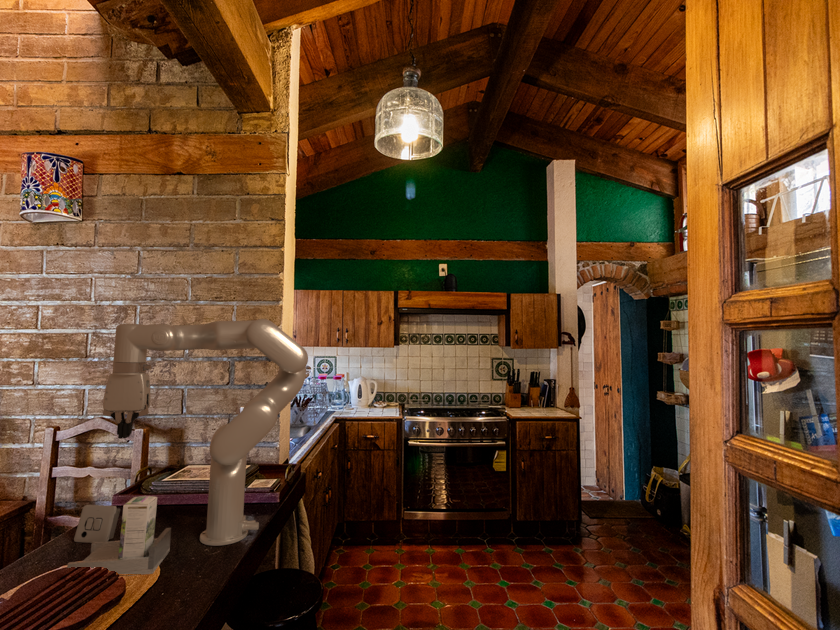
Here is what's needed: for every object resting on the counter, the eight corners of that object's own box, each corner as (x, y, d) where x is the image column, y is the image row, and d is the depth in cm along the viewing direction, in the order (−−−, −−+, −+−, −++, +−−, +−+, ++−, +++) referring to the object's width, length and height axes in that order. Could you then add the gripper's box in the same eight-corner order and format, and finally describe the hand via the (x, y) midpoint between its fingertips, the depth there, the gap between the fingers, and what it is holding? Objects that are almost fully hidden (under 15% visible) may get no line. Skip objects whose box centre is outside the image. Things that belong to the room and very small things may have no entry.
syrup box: (127, 555, 110) (132, 496, 112) (153, 554, 112) (157, 495, 113) (117, 566, 105) (121, 504, 106) (144, 564, 106) (148, 503, 107)
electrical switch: (72, 543, 119) (78, 506, 121) (87, 536, 124) (93, 502, 126) (105, 544, 119) (110, 508, 120) (119, 538, 124) (124, 503, 125)
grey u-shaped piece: (169, 550, 116) (171, 527, 116) (152, 573, 104) (154, 547, 104) (92, 556, 112) (94, 531, 112) (65, 580, 100) (67, 553, 101)
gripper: (164, 368, 125) (159, 434, 123) (105, 368, 122) (99, 435, 120) (154, 370, 117) (149, 439, 116) (91, 369, 114) (85, 441, 113)
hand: (124, 437), depth 118 cm, fingers closed
